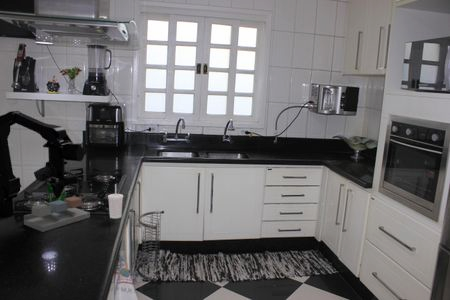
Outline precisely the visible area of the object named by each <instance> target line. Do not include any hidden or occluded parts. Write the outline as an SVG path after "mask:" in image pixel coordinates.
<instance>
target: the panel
mask: <svg viewBox="0 0 450 300" xmlns="http://www.w3.org/2000/svg"><path fill="white" fill-rule="evenodd" d="M89 218H91V212H89V211H86V210H83V209H80V208H78V207H75V208H69V207H67V210H64V211H61V212H57V213H55V212H53V211H51V214H50V215H46V216H43V217H37V216H34V215H32V213H29V214H24V215H23V225H26V226H27V227H29V228H32V229H35V230H37V231H39V232H40V233H41V232H42V233H43V232H47V231H51V230H53V229H56V228H59V227H62V226H63V227H64V226H66V225H70V224H74V223H76V222H79V221H83V220H86V219H89Z"/></svg>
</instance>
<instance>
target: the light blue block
mask: <svg viewBox="0 0 450 300" xmlns="http://www.w3.org/2000/svg"><path fill="white" fill-rule="evenodd" d="M48 206H50V207H51V211H53V212H55V213H57V212H61V211H64V210H67V202H64V201H61V200H58V201H54V202H50V203H49V205H48Z"/></svg>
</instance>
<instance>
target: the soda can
mask: <svg viewBox="0 0 450 300" xmlns="http://www.w3.org/2000/svg"><path fill="white" fill-rule="evenodd" d="M66 189H67V188H66V186H65V187H64V189H63V191H62V193H61V195H60V197H59V198H56V197H55V195H54V192H53V189H52V187H51V185H50V184H49V183H47V182H46V197H47V201H46V202H48V203H50V202H54V201H58V200H61V201H64V199H66V198H67V196H66Z"/></svg>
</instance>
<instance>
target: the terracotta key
mask: <svg viewBox="0 0 450 300" xmlns="http://www.w3.org/2000/svg"><path fill="white" fill-rule="evenodd" d="M64 202H67V207H69V208H79V207H81V206H83V199H82V198H81V197H78V196H69V197H66V199H64Z"/></svg>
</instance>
